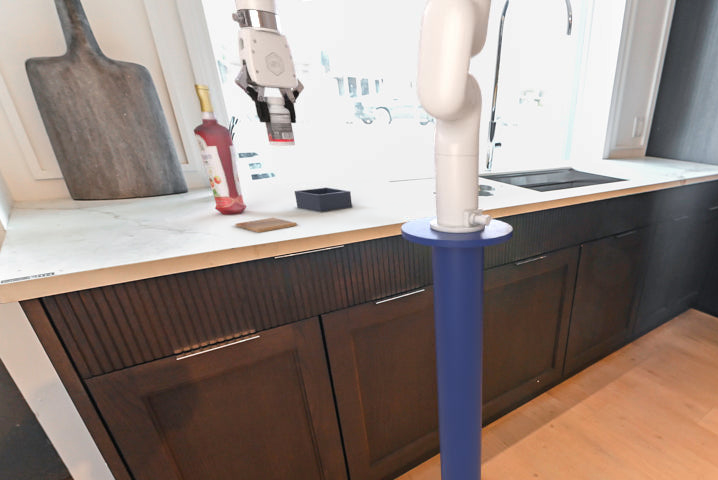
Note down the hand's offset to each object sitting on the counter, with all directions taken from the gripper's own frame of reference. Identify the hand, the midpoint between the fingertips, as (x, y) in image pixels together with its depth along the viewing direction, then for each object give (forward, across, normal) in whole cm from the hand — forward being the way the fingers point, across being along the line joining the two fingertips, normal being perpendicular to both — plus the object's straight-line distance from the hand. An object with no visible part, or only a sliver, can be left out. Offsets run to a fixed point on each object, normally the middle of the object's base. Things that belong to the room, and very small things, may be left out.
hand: (278, 121), depth 96 cm
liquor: (+21, -7, +16) cm, 28 cm away
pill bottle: (+5, 0, 0) cm, 5 cm away
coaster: (+21, -10, -4) cm, 24 cm away
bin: (+21, +13, +6) cm, 26 cm away
